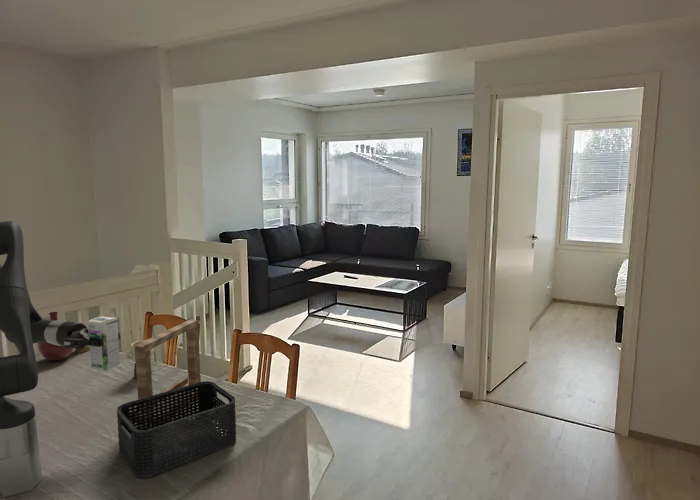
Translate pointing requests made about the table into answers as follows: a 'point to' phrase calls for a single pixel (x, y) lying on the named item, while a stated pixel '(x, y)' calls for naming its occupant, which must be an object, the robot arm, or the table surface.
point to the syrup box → (104, 343)
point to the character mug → (134, 354)
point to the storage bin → (175, 428)
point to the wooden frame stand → (145, 363)
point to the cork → (85, 349)
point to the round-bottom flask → (53, 346)
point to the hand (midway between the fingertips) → (110, 339)
